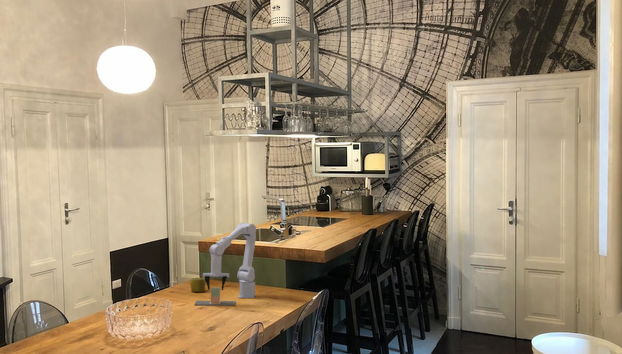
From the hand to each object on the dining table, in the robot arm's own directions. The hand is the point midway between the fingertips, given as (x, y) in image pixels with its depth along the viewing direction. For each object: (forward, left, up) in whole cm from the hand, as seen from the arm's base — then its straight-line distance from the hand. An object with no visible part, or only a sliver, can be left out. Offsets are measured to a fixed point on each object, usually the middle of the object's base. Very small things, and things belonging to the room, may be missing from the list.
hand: (215, 289), depth 288 cm
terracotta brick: (0, 0, -7) cm, 7 cm away
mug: (+14, -31, -8) cm, 35 cm away
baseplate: (0, 0, -8) cm, 8 cm away
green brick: (0, 0, -3) cm, 3 cm away
